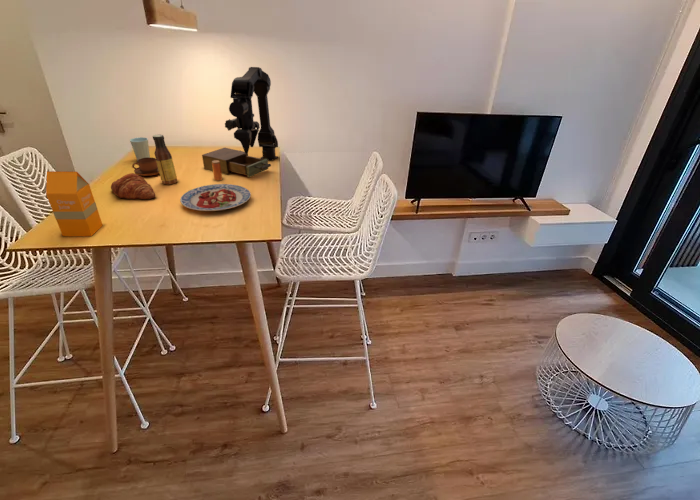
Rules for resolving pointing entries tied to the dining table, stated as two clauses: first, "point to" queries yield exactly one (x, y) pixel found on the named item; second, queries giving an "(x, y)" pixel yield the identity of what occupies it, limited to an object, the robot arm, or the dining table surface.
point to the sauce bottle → (164, 161)
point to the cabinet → (221, 158)
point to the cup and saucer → (146, 167)
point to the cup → (140, 147)
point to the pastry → (132, 187)
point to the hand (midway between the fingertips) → (249, 150)
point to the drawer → (248, 165)
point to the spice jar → (216, 170)
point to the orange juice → (72, 203)
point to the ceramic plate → (215, 197)
